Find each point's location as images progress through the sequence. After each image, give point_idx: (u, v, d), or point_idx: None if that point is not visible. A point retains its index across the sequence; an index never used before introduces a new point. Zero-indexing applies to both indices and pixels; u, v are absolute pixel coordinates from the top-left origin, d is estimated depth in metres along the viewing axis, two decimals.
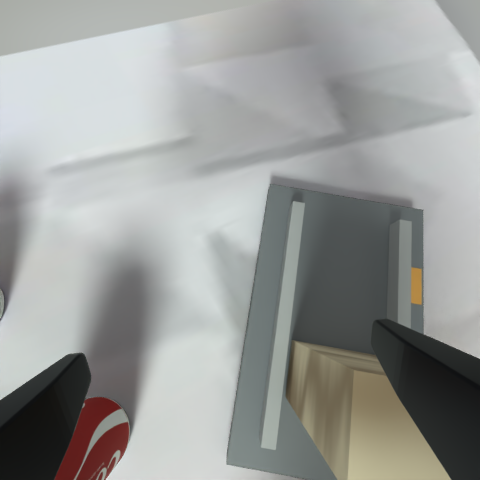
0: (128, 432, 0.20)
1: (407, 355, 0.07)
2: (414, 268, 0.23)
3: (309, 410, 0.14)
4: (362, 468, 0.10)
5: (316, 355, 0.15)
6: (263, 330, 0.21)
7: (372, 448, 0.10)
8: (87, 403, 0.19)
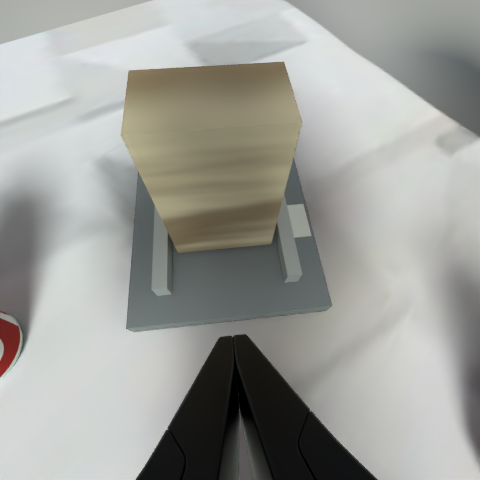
0: (18, 334, 0.18)
1: (237, 376, 0.07)
2: None
3: None
4: (135, 118, 0.11)
5: None
6: (150, 209, 0.22)
7: (145, 106, 0.11)
8: None
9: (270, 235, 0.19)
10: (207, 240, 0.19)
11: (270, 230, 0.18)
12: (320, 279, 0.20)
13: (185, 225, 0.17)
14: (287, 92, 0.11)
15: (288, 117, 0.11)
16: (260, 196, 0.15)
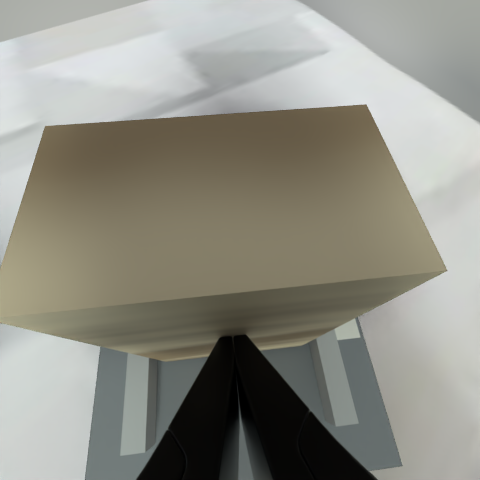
0: None
1: (237, 376, 0.07)
2: None
3: None
4: (34, 261, 0.04)
5: None
6: None
7: (64, 224, 0.05)
8: None
9: (303, 342, 0.13)
10: (209, 353, 0.12)
11: (305, 341, 0.12)
12: (379, 415, 0.13)
13: (173, 352, 0.10)
14: (391, 181, 0.05)
15: (409, 255, 0.04)
16: (303, 329, 0.08)
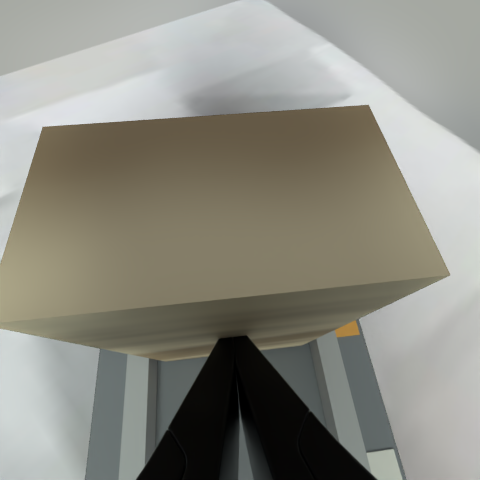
0: None
1: (237, 376, 0.07)
2: None
3: None
4: (32, 265, 0.04)
5: None
6: (114, 464, 0.12)
7: (61, 227, 0.05)
8: None
9: (303, 343, 0.13)
10: (209, 353, 0.12)
11: (305, 341, 0.12)
12: None
13: (173, 352, 0.10)
14: (393, 183, 0.05)
15: (412, 258, 0.04)
16: (303, 330, 0.08)
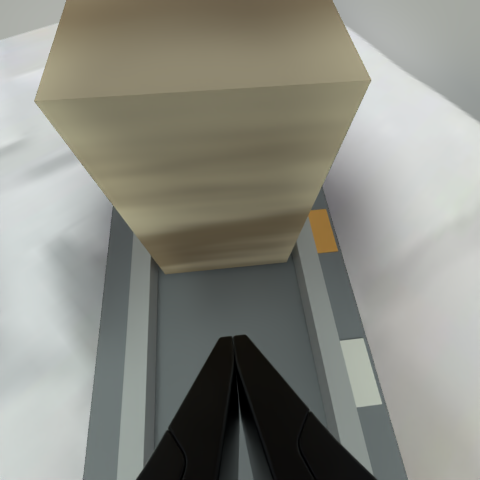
0: None
1: (237, 376, 0.07)
2: (316, 210, 0.18)
3: None
4: (66, 73, 0.06)
5: None
6: (121, 349, 0.14)
7: (87, 53, 0.06)
8: None
9: (287, 252, 0.14)
10: (203, 260, 0.14)
11: (288, 247, 0.14)
12: None
13: (171, 243, 0.12)
14: (337, 32, 0.07)
15: (344, 72, 0.06)
16: (280, 205, 0.10)
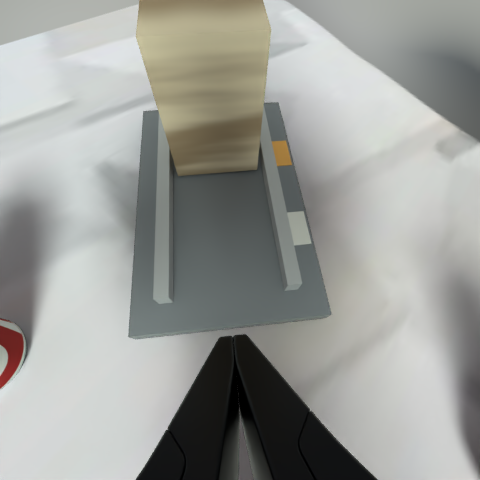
0: (22, 342, 0.19)
1: (237, 376, 0.07)
2: (279, 141, 0.26)
3: None
4: (146, 26, 0.14)
5: None
6: (151, 216, 0.22)
7: (153, 19, 0.14)
8: None
9: (255, 158, 0.23)
10: (202, 161, 0.22)
11: (255, 151, 0.22)
12: (319, 287, 0.20)
13: (184, 141, 0.20)
14: (261, 11, 0.15)
15: (260, 26, 0.14)
16: (244, 110, 0.18)
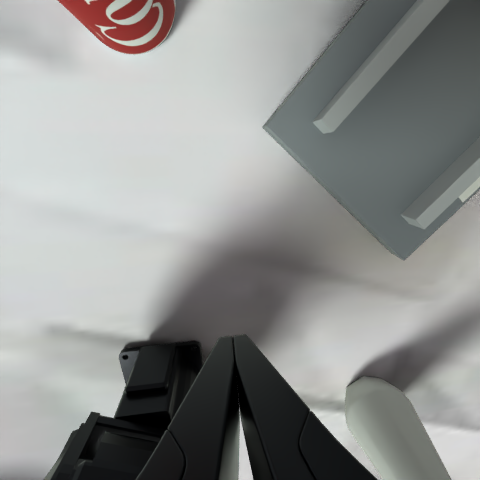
0: (171, 22, 0.15)
1: (237, 376, 0.07)
2: None
3: None
4: None
5: None
6: (395, 4, 0.15)
7: None
8: None
9: None
10: None
11: None
12: (421, 238, 0.20)
13: None
14: None
15: None
16: None
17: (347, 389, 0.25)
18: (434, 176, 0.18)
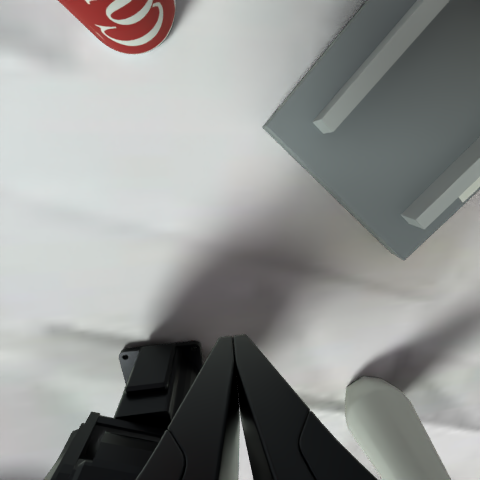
0: (171, 22, 0.15)
1: (237, 376, 0.07)
2: None
3: None
4: None
5: None
6: (395, 4, 0.15)
7: None
8: None
9: None
10: None
11: None
12: (421, 238, 0.20)
13: None
14: None
15: None
16: None
17: (347, 389, 0.25)
18: (434, 176, 0.18)
